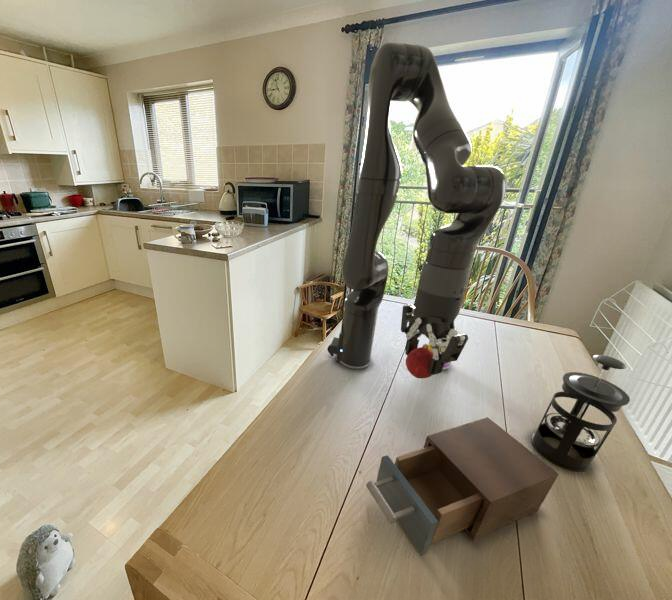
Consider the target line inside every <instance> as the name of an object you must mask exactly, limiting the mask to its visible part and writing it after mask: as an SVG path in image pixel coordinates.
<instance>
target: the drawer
mask: <svg viewBox="0 0 672 600" xmlns="http://www.w3.org/2000/svg"><path fill="white" fill-rule="evenodd" d="M365 487H366V488H367V490H368V492H369V493H370V495H371V496H372V498H373V500H374V501H375V503H376V504H377V506H378V508H379V509H380V511H381V512H382V514H383V516H384V518H385V519H386V521H387V522H388V523H389V525H394V524H395V523H396V522H398V524H399V526H400V527H401V528H402V530H403V531H404V533H405V534H406V535H407V538H408V539H409V540H410V542H411V544H412V545H413V546H414V548H415V549H416V551H417V552H418V554H419V556H424V555H426V554H428V552H429V549H430V545H431V544H434V543H436V542H439V541H441V540H443V539H446V538H447V537H448V538H449V537H450V536H453V535H455V534H457V533H459V532H462V531H465V530H464V529H466V528H468V527H471V526H473V525H474V523H475V521H476V519H477V517H478V515H479V512H480V510H481V508H482V506H483V504H484V500H483V498H482V497H481V496H480V495H479V494H478V493H477V492H476V491H475V490H474V489H473V488H472V487H471V486H470V485H469V484H468V483H467V482H466V480H465V479H464V478H463V477H462V476H461V475H460V474H459V473H458V472H457V471H456V470H455V469H454V468H453V467H452V466H451V465H450V464H449V462H448V461H447V460H446V459H445V458H444V457H443V456H442V455H441V454H440V453H439V452H438V451H437V450H436V449H435V448H434V447H433V445H432V446H429V447H426V448H424V447H423V448H421V449H417V450H414V451H411V452H408V453H405V454H402V455H399V456H396V458H395V461H394V462H393V460H392V459H391V457H390V456H389V455H388V454H387V455H384V456H381V459H380V463H379V468H378V472H377V477H376V481H373V480H369V481H368V482H366V484H365Z"/></svg>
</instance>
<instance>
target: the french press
mask: <svg viewBox="0 0 672 600" xmlns="http://www.w3.org/2000/svg"><path fill="white" fill-rule="evenodd" d="M592 358H593V361H595V362H596V363H598V364H600V365H602V366H601V369H602V370H601V373H600V374H599V376H595V375H592V374H588V373H585V372H577V371H571V372H566V373H564V374H563V376H562V381H563V383H562V385H561V389H562V391H557V392H555V393H554V394H553V396H552V398H551V399H550V402H549V404H548V406H547V408H546V410H545V412H544V414H543V416H542V418H541V421H540V422H539V424H538V427H537V428H536V430H535V433H532V435H531V438H530V441H531V445H532V447H533V448H534V449H535V451H536V452H537V453H538V454H539V455H540V456H541V457H542V458H544V459H545V460H546V461H548V462H550V463H551V464H553V465H554V466H557V467H559V468H560V469H561V468H562V469H563V470H567V471H570V472H574V473H575V472H577V473H583V472H587V471H588V470H589V469H590V468H591V466H592V462H593V460H594V458H595V457H596V455H597V454H598V452H599V451H600V449H601V447H602V446H603V444H604V443H605V441H606V440H607V438H608V437H609V435H610V433H611V431H612V430H613V429H614V427H615V426H616V424H617V422H618V418H617V416H616V414H615V413H616V412H618V411H620V410H621V408H622V407H623V406H627V405H629V403H630V401H631V398H630V396H629V395H628V394H627V392H626V391H624V390H623V389H622V388H621V387H619V386H617V385H616V384H614V383H612V382H610V381H608V380H606V379H604V378H603V377H604V375H605V373H606V372H607V371H609V370H610V369H614V370H624V369H626V368H627V365H626V364H625V363H624V362H623V361H621V360H619V359H617V358H615V357H612V356H609V355H605V354H594V355H592ZM556 398H568V399H573V400H576V401H575V403H574V405H573V407H572V408H571V410H570V412H568V410H566V409H564V408H563V407H562V406H561V405H560V404H559V403H558V402H557V400H556ZM590 406H592V407H593V408H595V409H597V410H599V411H600V412H601V413H603V414H604V415H605V416H606V417H607V418H608V419H609V420H610V422H611V423H610V424H599V423H596V422H591V421H588V420H585V419H583V418H584V417H585V414H586V412H587V411H588V409H589V407H590ZM551 407H552V408H553V409H554V410H555V412H550V413H548V412H549V410H550V409H551ZM597 431H598V432H599V431H600V432H605V433H604V435H603V436H602V438H601V436H600V434H599V433H598V432H597ZM544 438H552V439H556V440H559V443H558V444H557V446H556V447H554V446H553V445H551V444H550V443H549V442H548V441H547V440H546V439H544ZM572 448H573V449H574V450H575V451H576V452H577V453H578V454H579V455H580V457H576V456H573V455H570V454H569V453H570V451H571V450H572Z"/></svg>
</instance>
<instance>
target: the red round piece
mask: <svg viewBox="0 0 672 600" xmlns="http://www.w3.org/2000/svg"><path fill="white" fill-rule="evenodd" d="M428 347H429V344H427V343H424V344H422V346H420V347H417V348H416V349H414V350H412V351H411V352H410V353H409V354H408V356H407V355H406V358H405V366H406V369H407V371H408V372H409V373H410V374H411V375H412V376H413V377H414V378H416V379H421V380H423V379H428V378H431V377H432V376H433V375H431V374H429V373H428V370H429V367H430V363H431V359H432V358H433V352H432V351H431V350H430V349H428Z"/></svg>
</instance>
